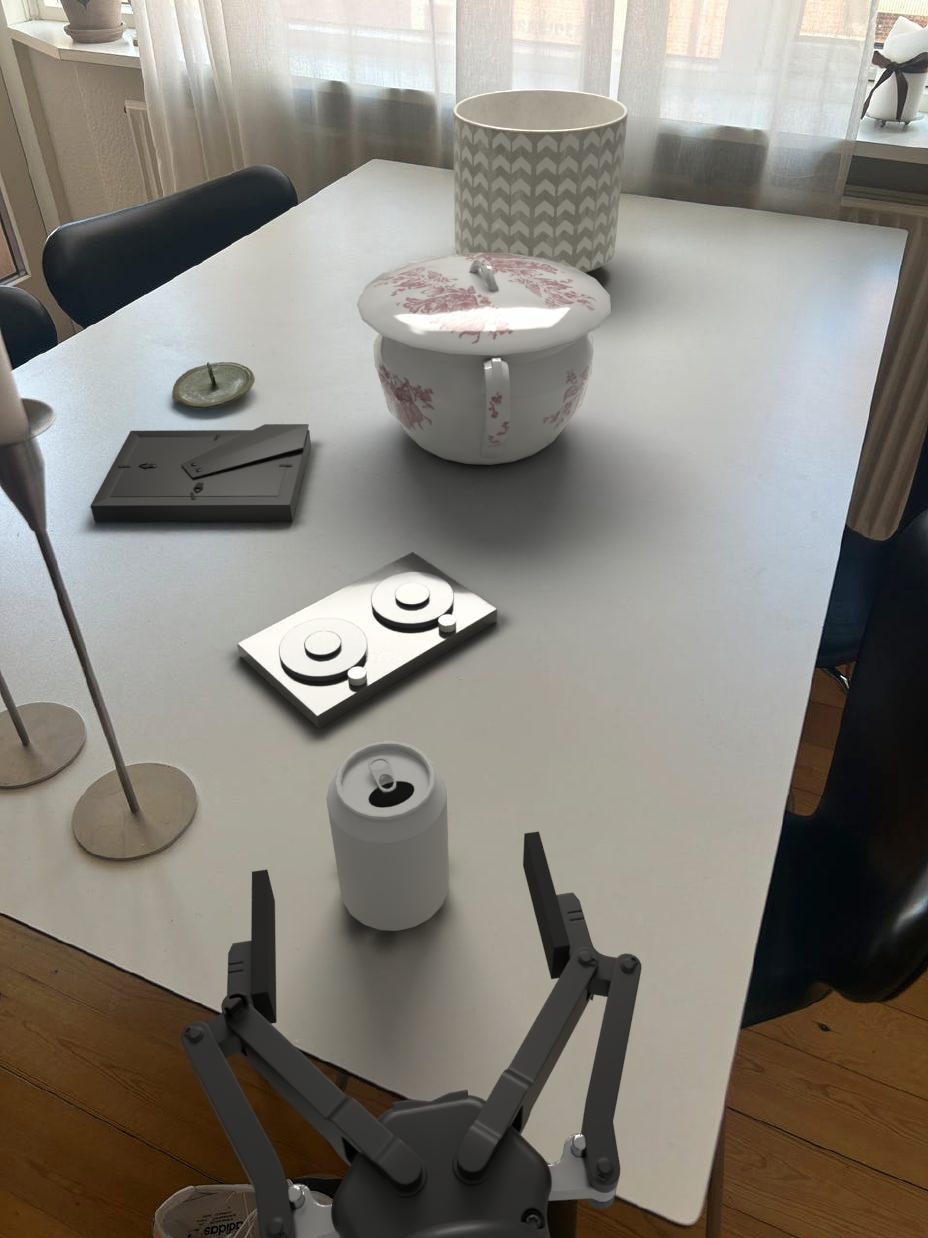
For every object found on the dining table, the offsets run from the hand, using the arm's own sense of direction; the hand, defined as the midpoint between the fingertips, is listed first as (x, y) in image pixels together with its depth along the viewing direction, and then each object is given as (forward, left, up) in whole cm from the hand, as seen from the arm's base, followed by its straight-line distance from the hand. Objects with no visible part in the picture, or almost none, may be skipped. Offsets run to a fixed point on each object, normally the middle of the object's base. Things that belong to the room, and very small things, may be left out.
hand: (399, 866), depth 49 cm
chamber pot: (-50, +53, -16) cm, 75 cm away
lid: (-81, +35, -16) cm, 89 cm away
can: (-8, +5, -16) cm, 19 cm away
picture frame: (-63, +23, -16) cm, 69 cm away
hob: (-30, +20, -16) cm, 40 cm away
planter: (-82, +94, -16) cm, 126 cm away
